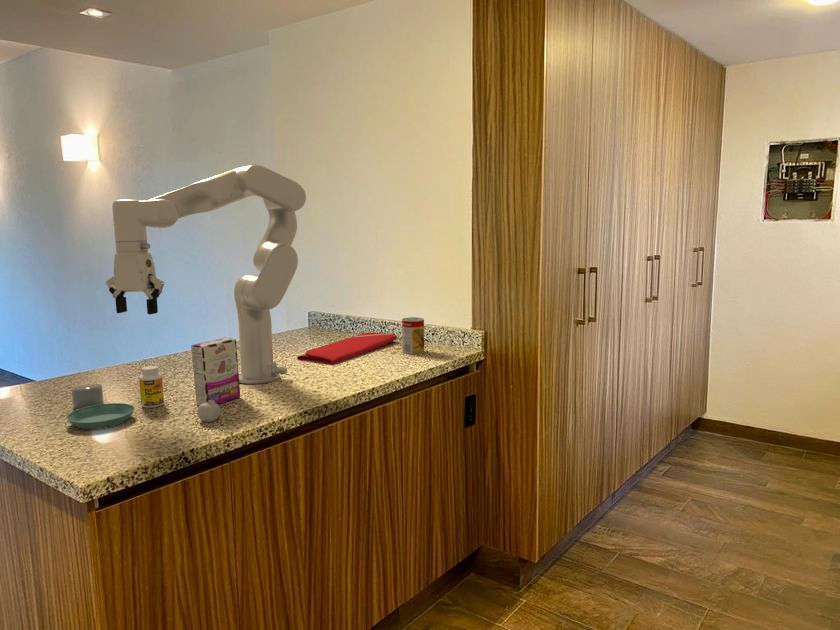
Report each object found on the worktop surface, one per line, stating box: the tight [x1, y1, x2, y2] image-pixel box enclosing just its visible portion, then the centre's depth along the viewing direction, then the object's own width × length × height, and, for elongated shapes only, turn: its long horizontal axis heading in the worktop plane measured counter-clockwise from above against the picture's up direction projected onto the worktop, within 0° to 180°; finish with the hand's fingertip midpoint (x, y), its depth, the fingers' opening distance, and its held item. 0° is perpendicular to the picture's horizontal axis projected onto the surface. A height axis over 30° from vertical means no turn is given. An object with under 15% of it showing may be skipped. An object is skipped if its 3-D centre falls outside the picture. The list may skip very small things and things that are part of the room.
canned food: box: [401, 316, 425, 356], centre depth 220 cm, size 8×8×12 cm
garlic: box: [196, 400, 222, 423], centre depth 149 cm, size 6×5×5 cm
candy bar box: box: [190, 337, 241, 407], centre depth 163 cm, size 11×5×16 cm, turn 148°
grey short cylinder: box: [71, 383, 105, 410], centre depth 162 cm, size 7×7×5 cm
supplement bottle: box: [138, 365, 165, 409], centre depth 161 cm, size 6×6×10 cm
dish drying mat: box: [296, 332, 398, 366], centre depth 225 cm, size 16×41×4 cm, turn 150°
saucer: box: [66, 402, 136, 430], centre depth 149 cm, size 15×15×3 cm
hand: (137, 313), depth 163 cm, fingers open, 9 cm apart
